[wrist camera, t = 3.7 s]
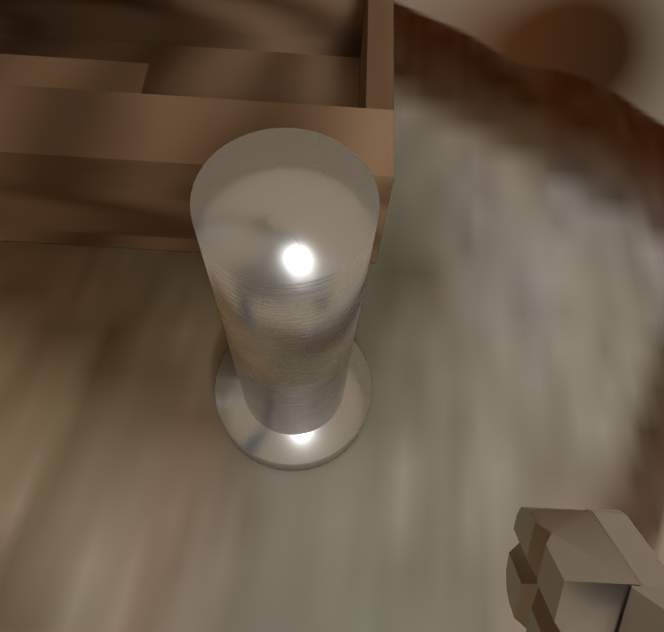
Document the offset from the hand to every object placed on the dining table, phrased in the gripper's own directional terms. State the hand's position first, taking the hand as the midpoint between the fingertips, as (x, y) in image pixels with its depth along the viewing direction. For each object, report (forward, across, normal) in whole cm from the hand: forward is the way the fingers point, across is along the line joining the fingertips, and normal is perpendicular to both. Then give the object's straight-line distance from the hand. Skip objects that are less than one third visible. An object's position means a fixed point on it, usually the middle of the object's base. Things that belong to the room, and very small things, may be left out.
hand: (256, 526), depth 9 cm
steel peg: (+12, 0, +4) cm, 13 cm away
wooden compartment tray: (+21, +8, -5) cm, 23 cm away
